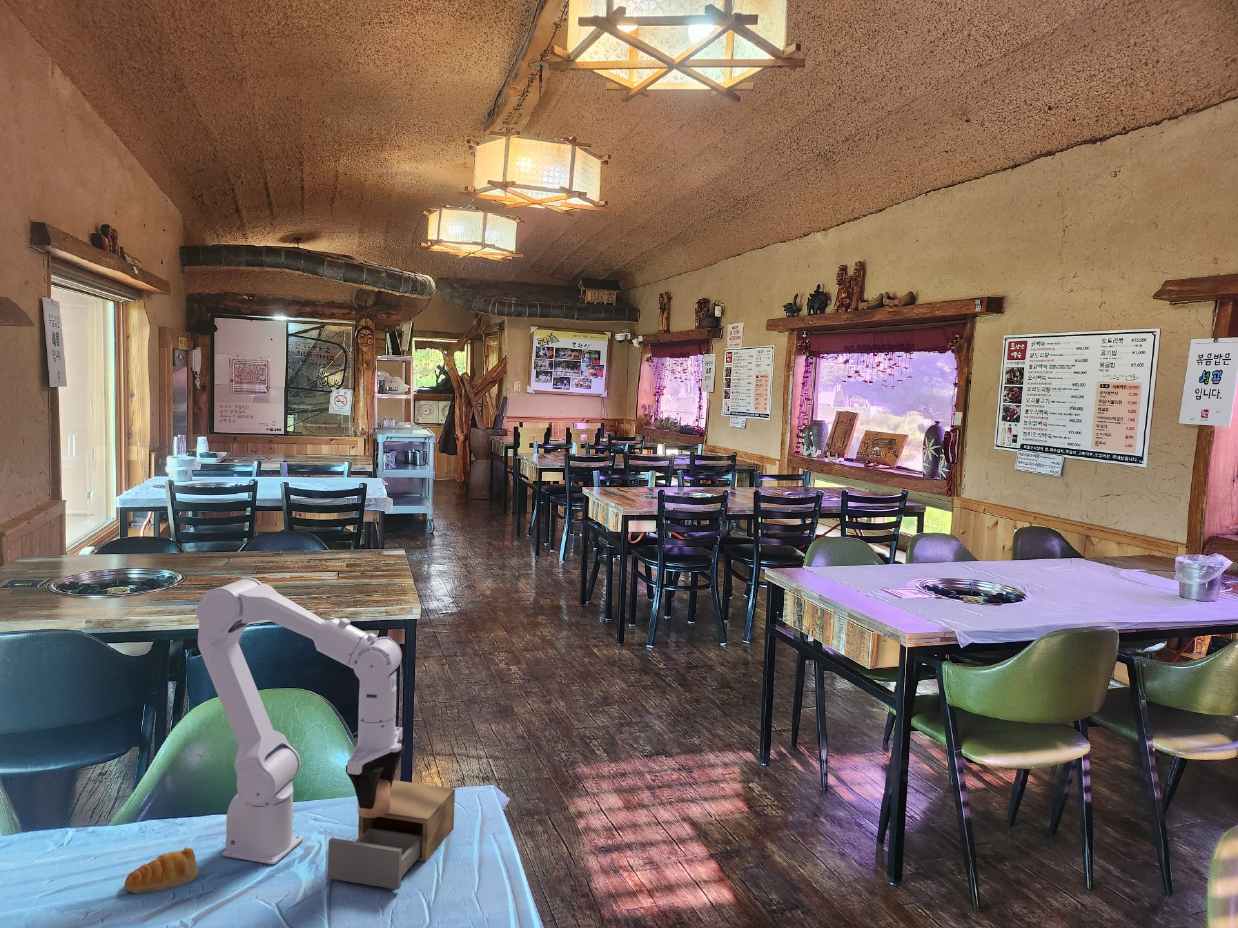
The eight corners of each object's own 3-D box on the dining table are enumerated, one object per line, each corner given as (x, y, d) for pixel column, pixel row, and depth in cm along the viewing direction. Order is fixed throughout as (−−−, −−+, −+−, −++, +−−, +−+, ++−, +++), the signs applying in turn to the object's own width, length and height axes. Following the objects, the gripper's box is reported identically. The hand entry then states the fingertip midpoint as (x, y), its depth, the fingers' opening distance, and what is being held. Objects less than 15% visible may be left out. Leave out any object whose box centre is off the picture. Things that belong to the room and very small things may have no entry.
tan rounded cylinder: (351, 814, 125) (351, 790, 125) (369, 799, 130) (370, 776, 130) (378, 820, 124) (378, 795, 124) (396, 804, 129) (396, 781, 128)
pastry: (129, 904, 113) (130, 878, 112) (119, 883, 118) (120, 858, 117) (201, 880, 119) (202, 856, 119) (189, 861, 124) (189, 838, 124)
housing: (426, 861, 126) (427, 818, 126) (357, 850, 129) (359, 808, 128) (453, 827, 137) (454, 788, 137) (390, 818, 140) (391, 779, 139)
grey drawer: (398, 889, 117) (399, 851, 117) (327, 877, 120) (328, 840, 119) (428, 852, 128) (430, 817, 128) (363, 842, 130) (364, 807, 130)
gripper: (378, 736, 118) (376, 824, 119) (420, 703, 132) (417, 782, 133) (335, 730, 120) (333, 818, 120) (381, 699, 134) (379, 777, 134)
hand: (375, 799), depth 127 cm, fingers closed on tan rounded cylinder, 5 cm apart
